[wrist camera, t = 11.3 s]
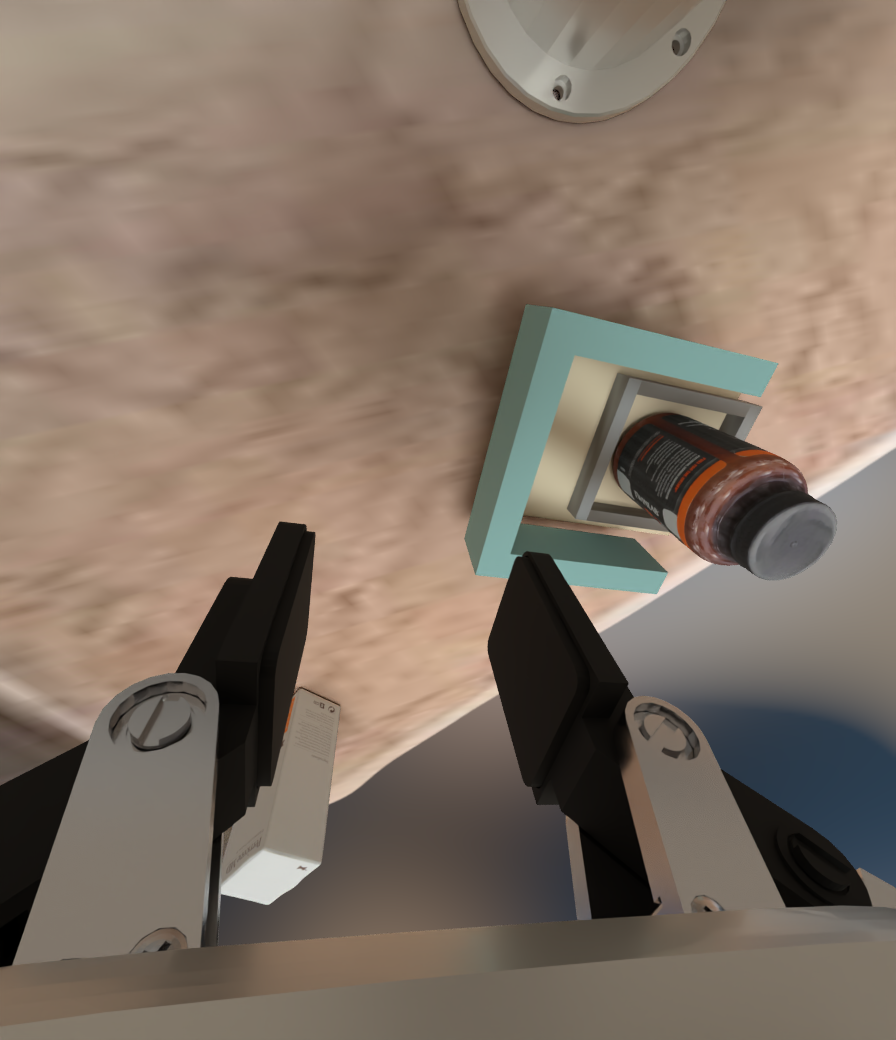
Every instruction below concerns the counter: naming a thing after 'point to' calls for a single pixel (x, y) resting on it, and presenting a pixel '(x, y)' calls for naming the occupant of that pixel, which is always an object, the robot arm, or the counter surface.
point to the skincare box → (286, 809)
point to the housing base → (617, 439)
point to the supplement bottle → (723, 496)
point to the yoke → (527, 425)
